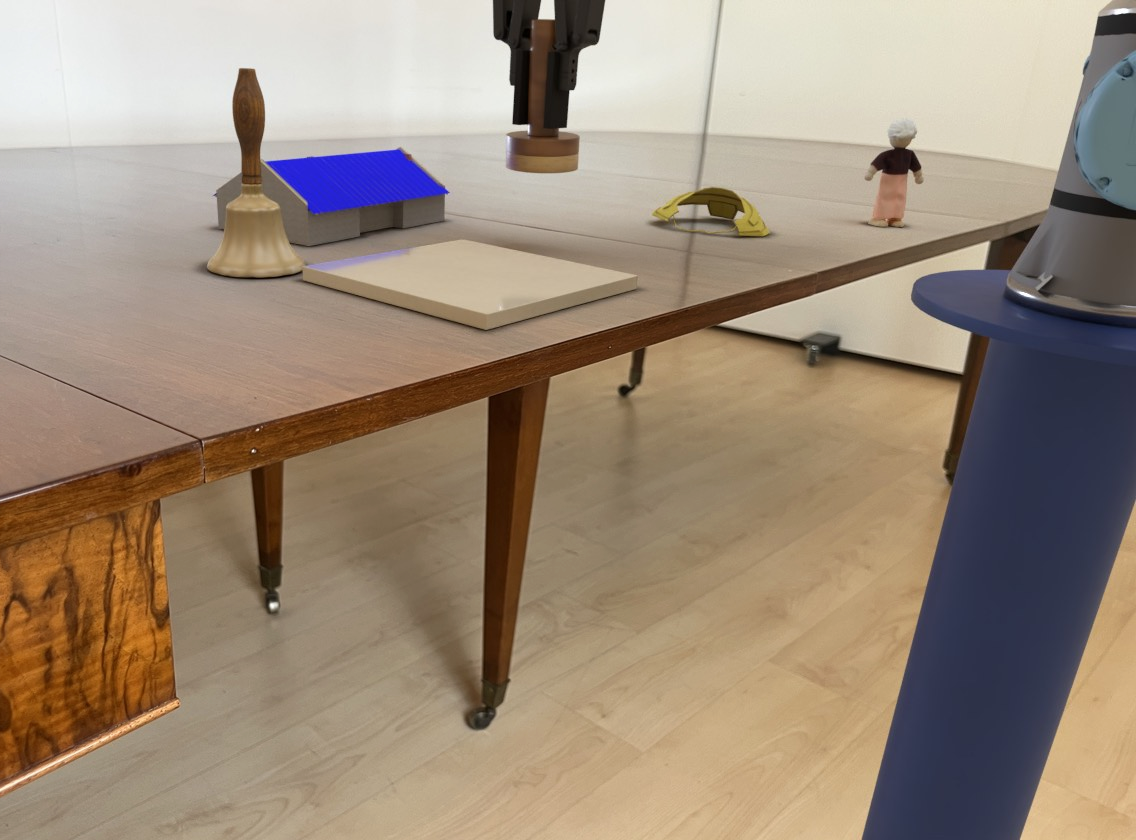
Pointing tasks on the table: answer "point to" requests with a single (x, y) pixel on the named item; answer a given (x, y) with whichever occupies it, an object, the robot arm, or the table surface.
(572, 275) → the tile
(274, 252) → the hand bell
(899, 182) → the grandmother figurine
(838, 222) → the table surface
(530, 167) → the dish brush
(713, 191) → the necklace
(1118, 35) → the robot arm
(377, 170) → the model house
